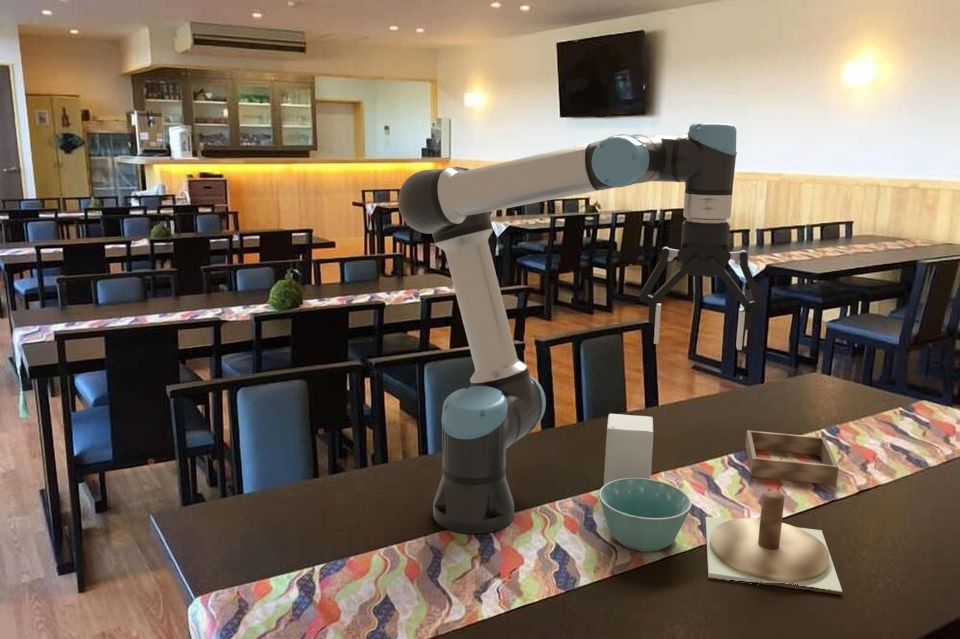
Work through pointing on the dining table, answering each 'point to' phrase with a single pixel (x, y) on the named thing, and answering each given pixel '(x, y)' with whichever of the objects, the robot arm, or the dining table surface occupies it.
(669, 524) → the bowl
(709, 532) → the mat
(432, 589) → the dining table surface
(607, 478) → the supplement box
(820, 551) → the lid
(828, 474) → the holder corral
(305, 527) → the dining table surface
